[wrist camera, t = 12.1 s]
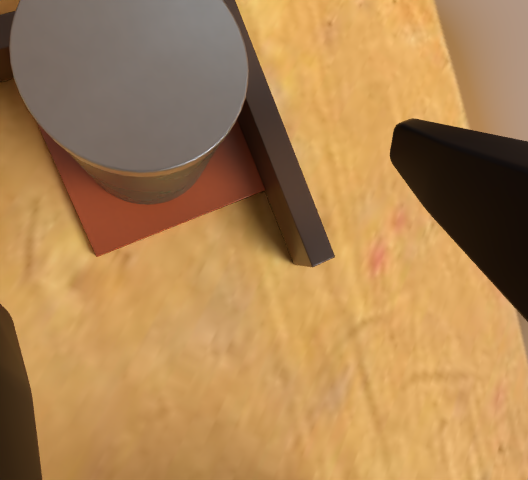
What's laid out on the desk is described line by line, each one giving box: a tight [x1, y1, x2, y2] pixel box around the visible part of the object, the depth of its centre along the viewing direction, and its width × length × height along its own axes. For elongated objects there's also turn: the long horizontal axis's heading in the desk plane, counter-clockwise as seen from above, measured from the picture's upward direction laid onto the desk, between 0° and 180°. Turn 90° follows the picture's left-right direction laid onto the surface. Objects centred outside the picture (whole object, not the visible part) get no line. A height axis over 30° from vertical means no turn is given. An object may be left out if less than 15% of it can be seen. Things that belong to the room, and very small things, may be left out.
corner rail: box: [0, 0, 335, 267], centre depth 18 cm, size 14×11×2 cm
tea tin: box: [9, 0, 249, 205], centre depth 14 cm, size 6×6×8 cm
